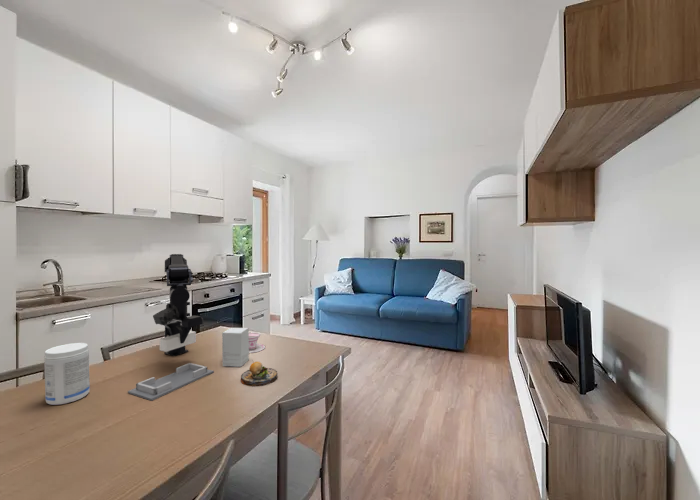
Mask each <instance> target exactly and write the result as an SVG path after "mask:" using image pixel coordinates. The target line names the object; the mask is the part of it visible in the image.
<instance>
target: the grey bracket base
mask: <svg viewBox="0 0 700 500" xmlns="http://www.w3.org/2000/svg"><path fill="white" fill-rule="evenodd" d="M214 372H215V370H212V369H208V366H204V365H201V364H196V363H192V362H187V363H186V364H184V365H181V366H179V367H176V368H175V371H174V372H172V373H169V374H168V375H165V376H162V377H159V378H156V377H154V376H153V377H150V378H148V379H145V380H142V381H139V382H136V384H135V387H134V388H132V389H129V390H127V394H129V395H132V396H135V397H138V398H142V399H145V400H148V401H152V402H153V401H155V400H157V399H159V398H162V397H163V396H165V395H168V394H169V393H172V392H174V391H176V390H179V389H181V388H183V387H185V386H187V385H189V384H191V383H193V382H195V381H199V380H201V379H202V378H203V379H204V378H205V377H206V376H209V375H212V374H214Z"/></svg>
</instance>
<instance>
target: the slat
mask: <svg viewBox="0 0 700 500" xmlns="http://www.w3.org/2000/svg"><path fill="white" fill-rule="evenodd" d="M196 342H197V332H196V331H193V330H190V332H189V333H188V336H187V338H186V339H185V341H184V343H182V344H181V343H180V333H179V334H176V335H172V336H169V337H165V336H164V337H161V338H159V351H161V352H167V351H170V350H173V349H176V348H179V347H183V346H188V345H191V344H194V343H196Z"/></svg>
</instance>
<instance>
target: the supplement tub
mask: <svg viewBox="0 0 700 500" xmlns="http://www.w3.org/2000/svg"><path fill="white" fill-rule="evenodd" d="M43 358H44V359H43V361H44V365H43V366H44V388H45V390H44V391H45V397H44V398H45V402H46V404H48V405H53V406H55V405H56V406H58V405H65V404H69V403H71V402H76V401H79V400H81V399H82V398H84V397H86V396H87V395H88V394H89V393H90V390H91V388H90V386H91V385H90V351H89V345H88V343H86V342H73V343H66V344H62V345H57V346H53V347H50V348H48V349H46V350H45V351H44V357H43Z"/></svg>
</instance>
